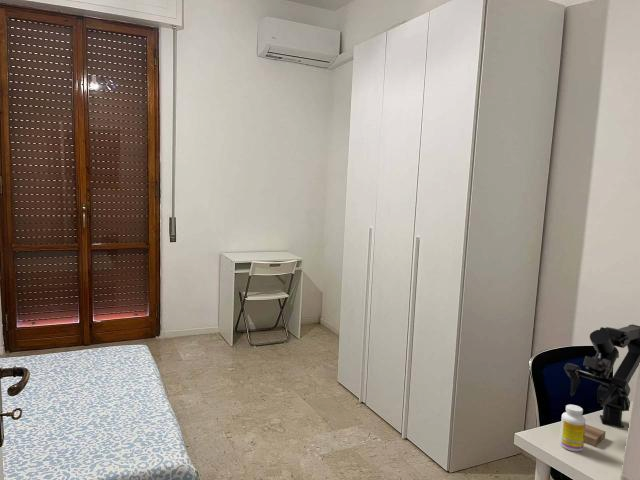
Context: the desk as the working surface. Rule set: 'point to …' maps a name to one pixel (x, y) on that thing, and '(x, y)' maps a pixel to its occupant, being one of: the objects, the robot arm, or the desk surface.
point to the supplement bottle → (572, 428)
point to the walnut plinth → (593, 435)
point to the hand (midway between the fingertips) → (585, 400)
